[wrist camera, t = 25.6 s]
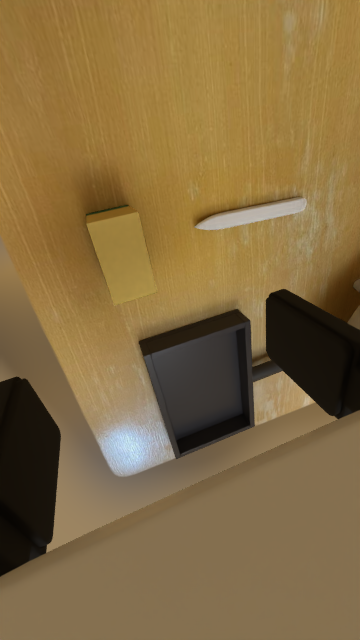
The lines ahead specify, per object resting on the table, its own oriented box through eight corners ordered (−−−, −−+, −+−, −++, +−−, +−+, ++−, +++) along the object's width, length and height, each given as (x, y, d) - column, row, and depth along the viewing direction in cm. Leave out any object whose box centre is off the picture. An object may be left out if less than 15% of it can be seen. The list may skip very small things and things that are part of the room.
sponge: (109, 282, 28) (114, 305, 23) (85, 213, 25) (86, 223, 19) (145, 272, 29) (157, 293, 24) (127, 204, 25) (138, 211, 20)
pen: (189, 217, 28) (194, 219, 26) (303, 194, 30) (314, 195, 29) (190, 232, 28) (196, 235, 27) (302, 209, 31) (312, 211, 30)
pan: (170, 441, 43) (176, 459, 40) (138, 341, 33) (143, 356, 30) (244, 411, 46) (254, 426, 43) (237, 308, 35) (250, 320, 32)
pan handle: (245, 376, 40) (252, 385, 38) (245, 366, 39) (252, 375, 37) (286, 361, 41) (294, 369, 39) (286, 351, 40) (295, 359, 38)
